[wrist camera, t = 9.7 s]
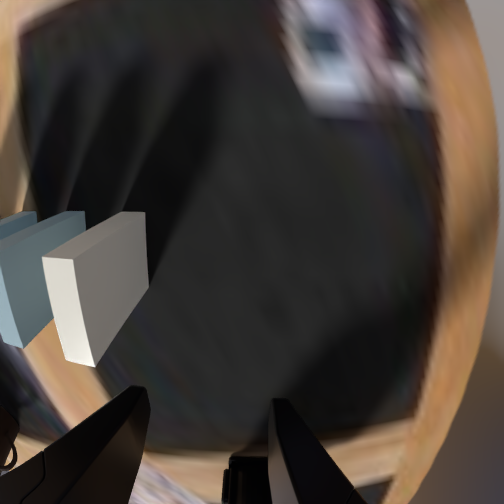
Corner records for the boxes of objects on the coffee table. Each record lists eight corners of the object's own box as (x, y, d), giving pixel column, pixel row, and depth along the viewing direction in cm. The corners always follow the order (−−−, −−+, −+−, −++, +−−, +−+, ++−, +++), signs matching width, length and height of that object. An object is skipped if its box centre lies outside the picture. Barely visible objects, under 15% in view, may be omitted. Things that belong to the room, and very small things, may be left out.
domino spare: (145, 212, 18) (72, 259, 10) (148, 287, 20) (94, 367, 12) (121, 211, 18) (41, 256, 10) (126, 285, 20) (66, 360, 11)
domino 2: (84, 211, 18) (-3, 252, 10) (92, 281, 20) (23, 348, 11) (66, 210, 18) (-22, 250, 10) (74, 279, 20) (4, 342, 11)
